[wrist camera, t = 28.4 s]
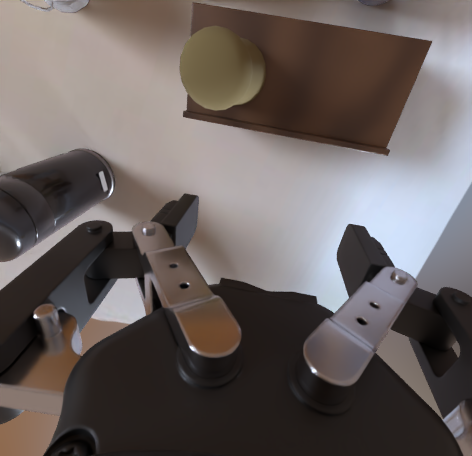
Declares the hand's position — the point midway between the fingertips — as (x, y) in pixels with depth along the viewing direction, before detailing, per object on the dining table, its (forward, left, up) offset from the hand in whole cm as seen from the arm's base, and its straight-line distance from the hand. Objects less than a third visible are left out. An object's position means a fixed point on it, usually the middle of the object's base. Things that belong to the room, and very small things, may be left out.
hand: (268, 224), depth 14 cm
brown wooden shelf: (0, +7, -28) cm, 29 cm away
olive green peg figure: (-6, +7, -19) cm, 20 cm away
